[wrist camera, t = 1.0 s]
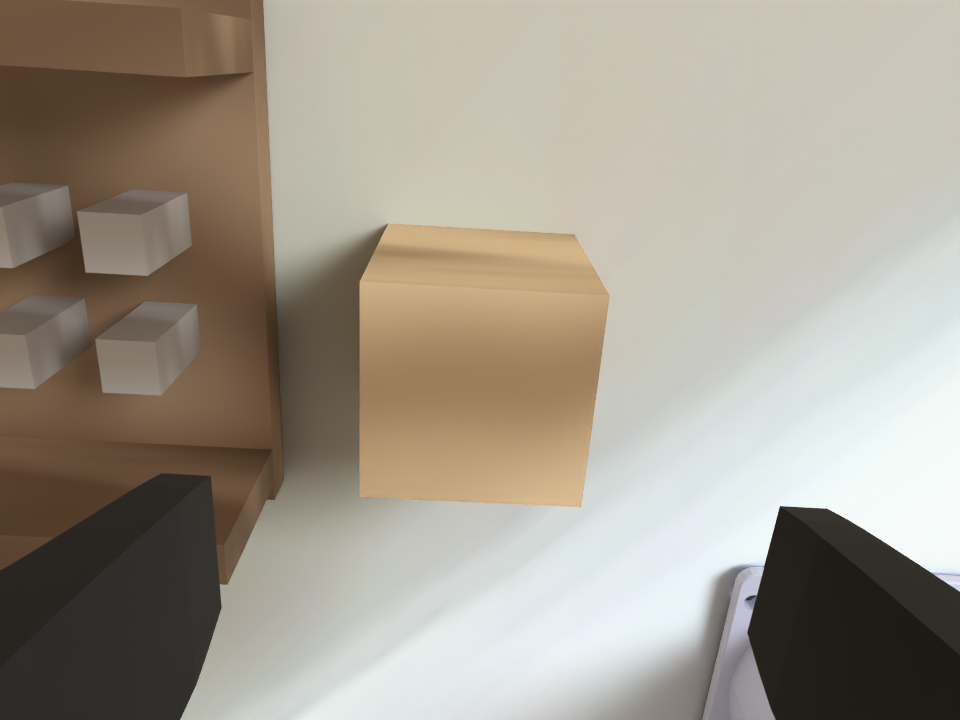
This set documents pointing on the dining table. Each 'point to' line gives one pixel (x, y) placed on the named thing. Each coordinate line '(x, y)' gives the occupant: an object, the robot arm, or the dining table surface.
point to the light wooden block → (478, 366)
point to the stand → (135, 262)
